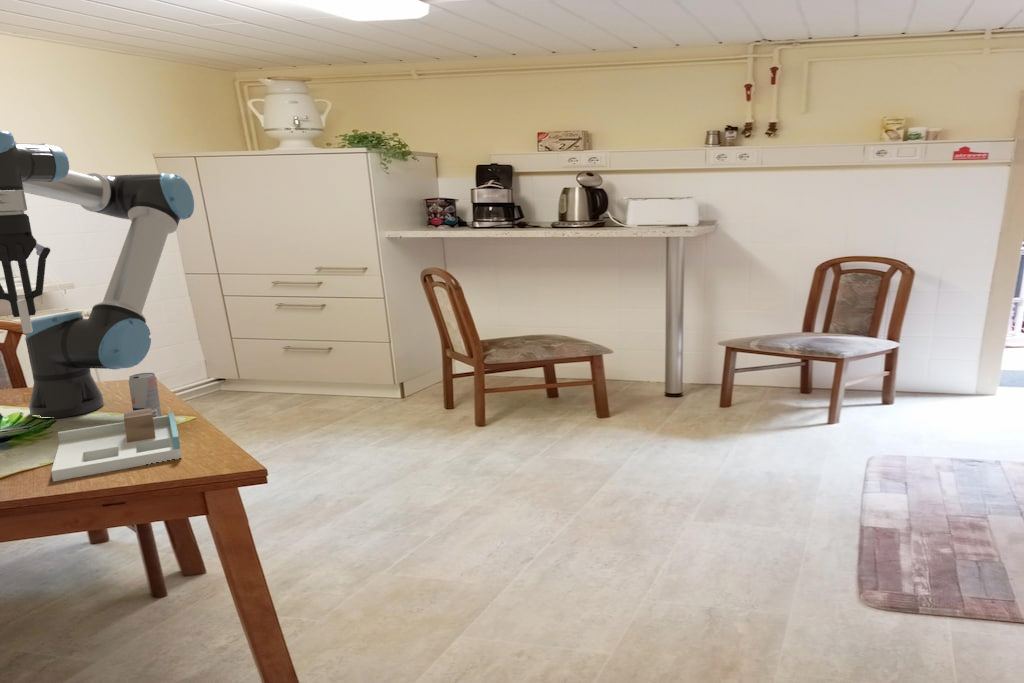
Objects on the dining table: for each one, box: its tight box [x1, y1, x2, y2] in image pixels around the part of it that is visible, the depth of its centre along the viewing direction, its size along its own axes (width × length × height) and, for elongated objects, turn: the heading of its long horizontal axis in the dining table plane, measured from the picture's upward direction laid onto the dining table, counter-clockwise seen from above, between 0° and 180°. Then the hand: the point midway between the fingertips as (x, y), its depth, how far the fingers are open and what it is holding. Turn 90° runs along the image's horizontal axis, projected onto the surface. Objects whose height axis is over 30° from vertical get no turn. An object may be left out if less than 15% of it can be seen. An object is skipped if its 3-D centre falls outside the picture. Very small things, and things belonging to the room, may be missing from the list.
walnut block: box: [123, 408, 155, 443], centre depth 141 cm, size 5×5×5 cm
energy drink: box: [128, 372, 163, 417], centre depth 151 cm, size 5×5×12 cm
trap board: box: [51, 411, 182, 483], centre depth 137 cm, size 18×21×4 cm
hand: (28, 331), depth 140 cm, fingers closed
